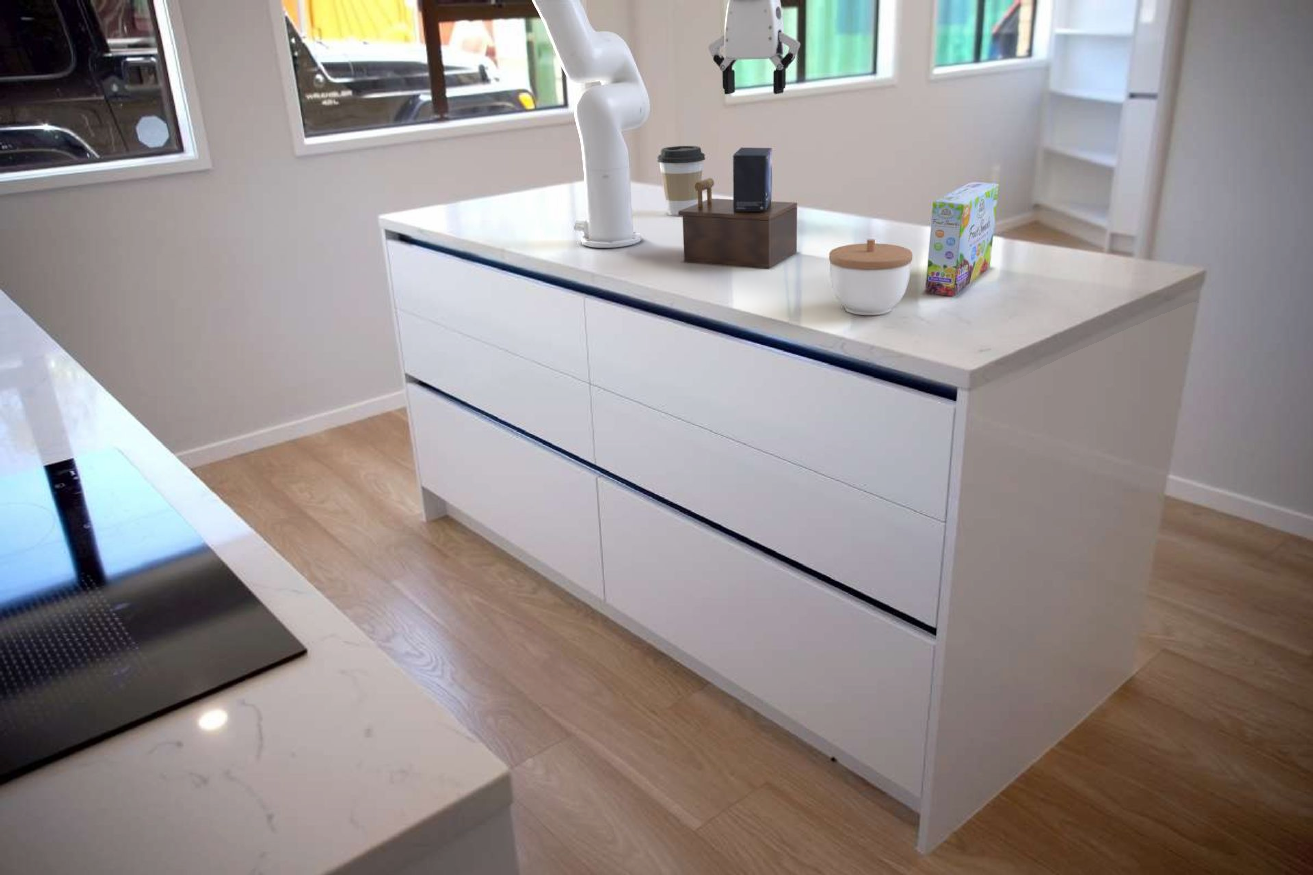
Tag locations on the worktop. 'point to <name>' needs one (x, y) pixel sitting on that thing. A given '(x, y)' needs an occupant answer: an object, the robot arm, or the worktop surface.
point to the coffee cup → (680, 176)
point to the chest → (740, 240)
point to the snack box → (961, 237)
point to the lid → (730, 206)
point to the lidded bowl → (869, 276)
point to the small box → (752, 179)
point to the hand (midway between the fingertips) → (753, 93)
